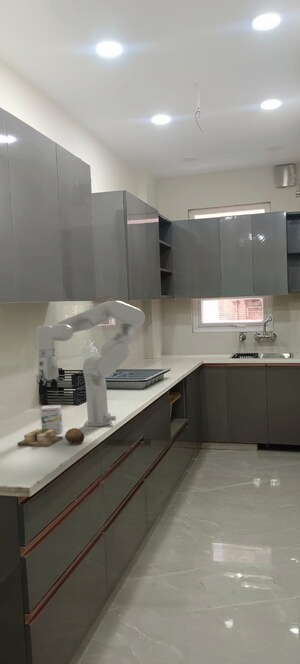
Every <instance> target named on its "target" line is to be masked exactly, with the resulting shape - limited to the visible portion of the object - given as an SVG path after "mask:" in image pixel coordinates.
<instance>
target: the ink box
mask: <svg viewBox="0 0 300 664" xmlns="http://www.w3.org/2000/svg"><path fill="white" fill-rule="evenodd" d="M40 421H41V429H43V433H44V432H46V431H48V430H55V435H58V434H60V435H61V434H62V433H63V431H64V429H63V428H64V427H63V413H62V405H61V404H59V405H57V404H56V405H54V404H53V405H43V406H42V407H40Z"/></svg>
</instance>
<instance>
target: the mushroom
mask: <svg viewBox="0 0 300 664" xmlns="http://www.w3.org/2000/svg"><path fill="white" fill-rule="evenodd" d="M64 437H65V440H66V441H67V442H68V443H70V444H72V445H79V444H82V443H83V442H84V441H85V435H84V432H83V431H82V430H81V429H79V428H76V427H73V428H70V429H68V430H67V431H66V432H65V435H64Z"/></svg>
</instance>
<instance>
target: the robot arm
mask: <svg viewBox="0 0 300 664" xmlns="http://www.w3.org/2000/svg"><path fill="white" fill-rule="evenodd" d="M112 319H113V320H114V319H115V320H117V325H118V327H117V330H116V331H115V333H114V334H113V335H112V336H111V337H110V338H109V339H108V340H107V341H106V342H105V343H104V344H103V345H102V346H101V347H100V351H99V353H100V356H99V355H98V356H97V355H93V356H89V357H87V358H85V360H84V362H83V364H82V372H83V376H84V377H83V379H84V383H85V394H86V396H85V397H86V409H87V410H86V411H87V412H86V413H87V420H86V421H85V422H84V426H86V427H91V428H92V427H93V428H95V427H96V428H97V427H104V426H108V425H111V424H112V422H113V421H114V422H116V421H117V417H116V415H111V412H109V408H108V407H109V405H108V394H107V393H108V391H107V381H106V379H108V378H109V377H110V376H112V375H113V374H114V373H115V372H116V371H117V370H118V369H119V368H120V367H121V365H123V364H124V363H125V362H126V360H127V359H128V357H129V355H130V354H129V352H130V349H129V345H130V344H131V343H132V340H133V338H134V328H139V327H141V326H142V325H144V323H145V321H146V315H145V313H144V312H143V310H142V309H139V308H138V307H135V306H133V305H130V304H128V303H125V302H123V301H120V300H108V301H105V302H102V303H100V304H97V305H95V306H93V307H91V308H89V309H87V310H85V311H83V312H80V313H77V314H75V315H73V316H70V317H67V318H66V319H63V320H61V321H58V322H56V323H54V324H52V325H39V326H37V328H36V342H37V343H36V345H37V375H36V376H35V378H36V382H37V385H38V390H39V391H38V393H39V395H47V384H46V382H47V381H50V391H52V392H56V391H57V392H58V389H59V388H58V387H59V386H58V381H59V374H60V373H59V372H60V371H59V367H58V366H59V365H58V360H57V357H56V341H57V342H66V341H69V340H71V339H72V337H74V334H75V333H77V332H82V331H87V330H91V329H94V328H96V327H98V326H99V325H101V324H103V323H106V322H108V321H110V320H112Z"/></svg>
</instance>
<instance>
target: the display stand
mask: <svg viewBox="0 0 300 664" xmlns="http://www.w3.org/2000/svg"><path fill="white" fill-rule="evenodd" d="M23 437H24V439H22V440H20V441H18V442H17V446H19V447H20V446H22V447H43V448H44V447H47V448H48V447H50V446H52V445H54V444H56V443H57V442H59V441H61V440H63V436H60V435H59V436H58V435H56V434H55V430H48V431H46V432H44V433H43V429H42V428H40V429H35V430H33V431H30V432H29V433H26V434H24V435H23Z"/></svg>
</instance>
